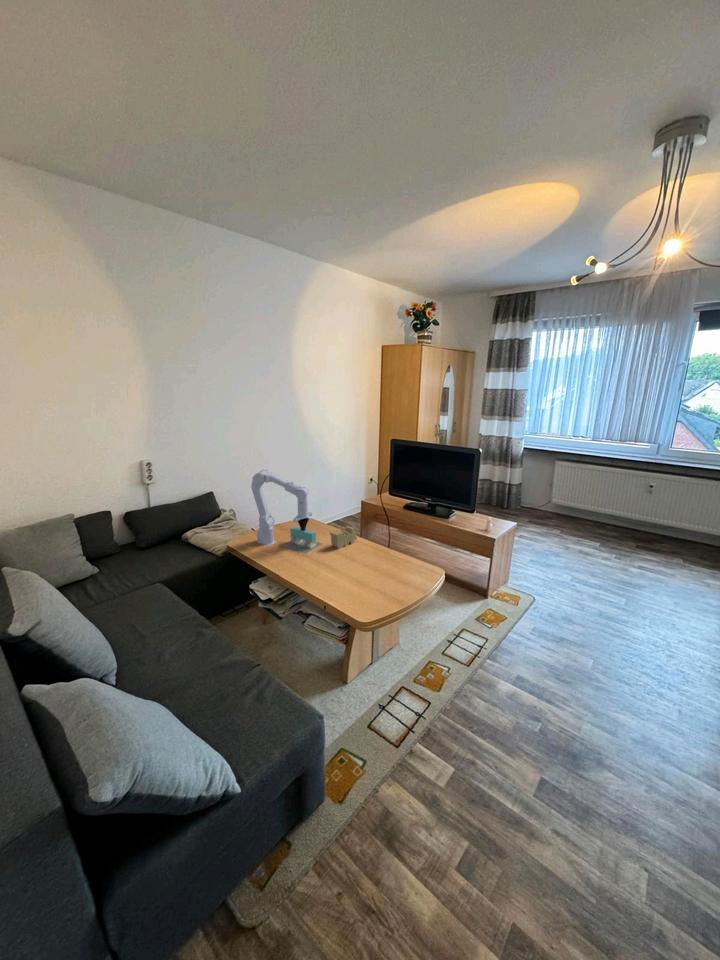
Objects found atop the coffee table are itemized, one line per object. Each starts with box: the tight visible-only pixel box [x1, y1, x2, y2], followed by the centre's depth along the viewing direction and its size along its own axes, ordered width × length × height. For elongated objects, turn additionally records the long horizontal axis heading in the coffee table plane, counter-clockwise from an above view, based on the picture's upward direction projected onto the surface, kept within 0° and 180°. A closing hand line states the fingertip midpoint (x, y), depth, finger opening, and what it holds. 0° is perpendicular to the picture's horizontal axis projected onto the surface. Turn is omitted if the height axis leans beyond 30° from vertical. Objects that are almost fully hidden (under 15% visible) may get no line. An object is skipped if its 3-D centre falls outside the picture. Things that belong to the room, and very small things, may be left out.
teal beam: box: [290, 526, 317, 542], centre depth 225 cm, size 16×4×5 cm, turn 59°
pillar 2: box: [304, 539, 317, 549], centre depth 223 cm, size 5×5×4 cm
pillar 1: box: [290, 535, 303, 545], centre depth 228 cm, size 5×5×4 cm
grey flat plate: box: [282, 540, 323, 554], centre depth 226 cm, size 18×16×1 cm
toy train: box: [329, 525, 358, 549], centre depth 226 cm, size 6×17×10 cm, turn 136°
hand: (303, 530), depth 224 cm, fingers closed, pressing on teal beam
